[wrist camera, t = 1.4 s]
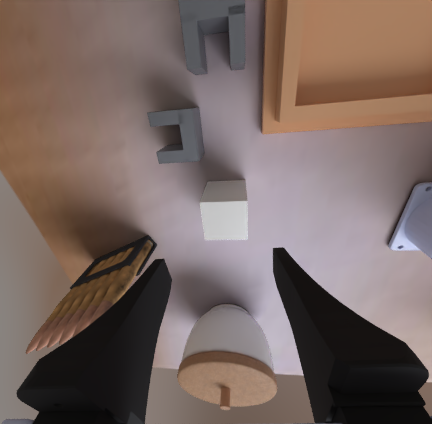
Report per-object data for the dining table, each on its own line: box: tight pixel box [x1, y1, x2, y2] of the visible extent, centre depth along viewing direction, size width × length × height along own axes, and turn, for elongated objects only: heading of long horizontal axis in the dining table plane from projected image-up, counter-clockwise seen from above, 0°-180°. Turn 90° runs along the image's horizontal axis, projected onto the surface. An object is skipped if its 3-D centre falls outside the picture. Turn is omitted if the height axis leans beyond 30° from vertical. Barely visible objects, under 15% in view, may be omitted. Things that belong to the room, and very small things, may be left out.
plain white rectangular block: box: [200, 180, 248, 240], centre depth 19 cm, size 4×4×5 cm
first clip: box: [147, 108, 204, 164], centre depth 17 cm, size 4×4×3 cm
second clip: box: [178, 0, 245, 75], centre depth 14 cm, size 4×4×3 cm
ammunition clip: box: [26, 236, 157, 354], centre depth 22 cm, size 11×2×12 cm, turn 120°
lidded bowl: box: [177, 304, 277, 410], centre depth 27 cm, size 13×13×11 cm
